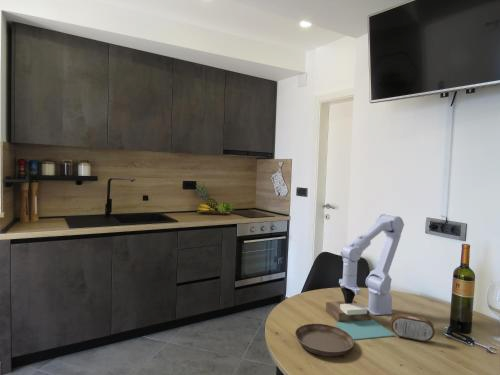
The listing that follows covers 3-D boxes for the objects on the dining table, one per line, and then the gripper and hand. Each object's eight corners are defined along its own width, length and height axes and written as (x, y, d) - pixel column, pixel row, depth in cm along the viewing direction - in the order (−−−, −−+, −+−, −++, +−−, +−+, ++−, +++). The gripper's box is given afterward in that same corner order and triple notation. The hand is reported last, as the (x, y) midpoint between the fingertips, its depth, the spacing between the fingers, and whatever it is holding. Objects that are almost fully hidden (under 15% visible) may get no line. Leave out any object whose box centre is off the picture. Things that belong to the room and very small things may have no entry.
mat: (373, 320, 142) (373, 319, 142) (394, 336, 129) (394, 335, 129) (334, 323, 138) (334, 322, 138) (352, 340, 125) (352, 339, 125)
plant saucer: (345, 332, 131) (345, 324, 131) (361, 362, 111) (361, 352, 110) (292, 330, 132) (292, 321, 132) (298, 359, 111) (298, 349, 111)
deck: (353, 309, 154) (354, 300, 154) (368, 320, 142) (369, 311, 142) (325, 311, 151) (326, 302, 150) (338, 322, 139) (339, 313, 139)
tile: (359, 307, 145) (359, 303, 145) (366, 313, 140) (367, 309, 139) (340, 308, 143) (340, 304, 143) (347, 315, 138) (347, 310, 137)
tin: (432, 340, 126) (434, 319, 126) (434, 344, 123) (436, 322, 123) (389, 332, 131) (391, 311, 131) (390, 335, 128) (392, 314, 128)
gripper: (333, 269, 151) (332, 299, 151) (350, 279, 137) (348, 312, 137) (347, 269, 152) (346, 298, 153) (365, 279, 138) (363, 311, 139)
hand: (348, 305), depth 145 cm, fingers closed
